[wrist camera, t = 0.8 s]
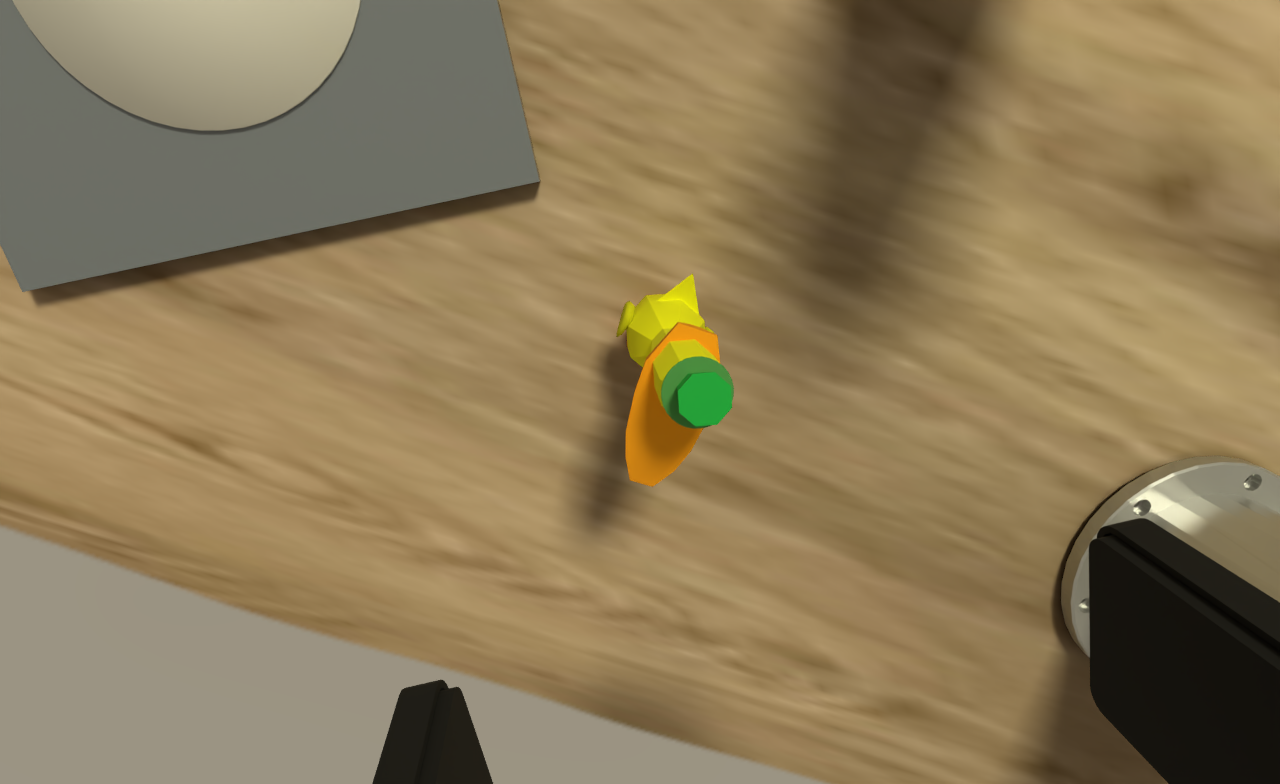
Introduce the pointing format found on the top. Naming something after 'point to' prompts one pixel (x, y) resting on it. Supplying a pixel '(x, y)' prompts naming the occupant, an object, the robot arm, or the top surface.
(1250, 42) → the top surface
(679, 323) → the toy figure
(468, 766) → the robot arm
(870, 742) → the top surface
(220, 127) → the slate tile
